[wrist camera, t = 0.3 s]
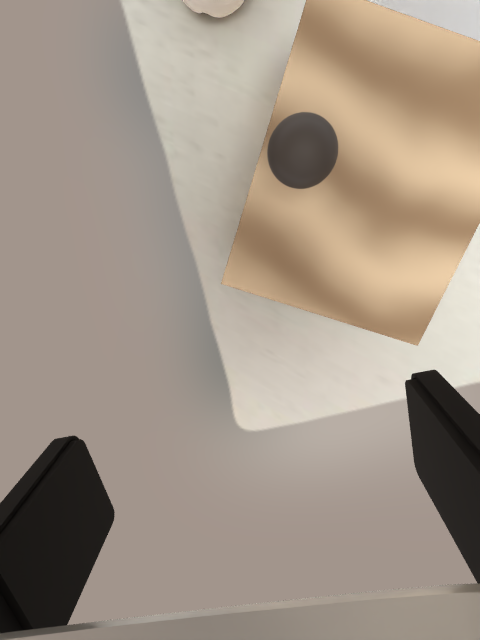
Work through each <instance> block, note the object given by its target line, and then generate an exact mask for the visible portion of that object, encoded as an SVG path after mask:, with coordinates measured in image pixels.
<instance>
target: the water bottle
mask: <svg viewBox="0 0 480 640" xmlns="http://www.w3.org/2000/svg"><path fill="white" fill-rule="evenodd" d="M182 1H183V2H184V3H185V4H186V5H187V6H188V7H189V8H190V9H191V10H193V11H194V12H196V13H200V14H201V12H204V13H207V14H209V15H211V16H213V17H218V18H221V17H225V16H227V15H229V14H231V13H233V12H234V11H235V10H237V9H238V8H239V7H240V6H241V5H242V4H243V2H244V0H182Z"/></svg>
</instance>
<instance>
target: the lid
mask: <svg viewBox="0 0 480 640" xmlns="http://www.w3.org/2000/svg"><path fill="white" fill-rule="evenodd" d="M479 223H480V41H477V40H475V39H472V38H469V37H466V36H464V35H461V34H458V33H455V32H452V31H450V30H447V29H444V28H441V27H439V26H436V25H433V24H430V23H427V22H425V21H422V20H419V19H416V18H414V17H411V16H408V15H405V14H402V13H400V12H397V11H394V10H391V9H389V8H386V7H383V6H380V5H377V4H375V3H372V2H369V1H366V0H306V3H305V7H304V10H303V13H302V16H301V20H300V23H299V26H298V30H297V33H296V36H295V40H294V43H293V46H292V50H291V53H290V56H289V60H288V63H287V66H286V70H285V73H284V76H283V80H282V83H281V86H280V90H279V93H278V96H277V100H276V103H275V106H274V110H273V113H272V116H271V119H270V123H269V126H268V129H267V133H266V136H265V139H264V143H263V146H262V149H261V153H260V156H259V159H258V163H257V166H256V169H255V173H254V176H253V179H252V183H251V186H250V189H249V193H248V196H247V199H246V203H245V206H244V209H243V213H242V216H241V219H240V223H239V226H238V229H237V232H236V236H235V239H234V242H233V246H232V249H231V252H230V256H229V259H228V262H227V266H226V269H225V272H224V276H223V279H222V282H221V284H224V285H227V286H230V287H233V288H236V289H239V290H243V291H246V292H249V293H252V294H255V295H258V296H262V297H265V298H268V299H271V300H274V301H277V302H281V303H284V304H287V305H290V306H293V307H296V308H300V309H303V310H306V311H309V312H312V313H315V314H319V315H322V316H325V317H328V318H331V319H335V320H338V321H341V322H344V323H347V324H350V325H354V326H357V327H360V328H363V329H366V330H369V331H373V332H376V333H379V334H382V335H385V336H388V337H392V338H395V339H398V340H401V341H404V342H407V343H411V344H414V345H417V346H418V344H419V342H420V340H421V338H422V336H423V334H424V332H425V330H426V328H427V326H428V324H429V322H430V320H431V318H432V316H433V314H434V312H435V310H436V308H437V306H438V304H439V302H440V300H441V298H442V296H443V294H444V292H445V290H446V288H447V286H448V284H449V282H450V280H451V278H452V276H453V274H454V273H455V271H456V269H457V267H458V265H459V263H460V261H461V259H462V257H463V255H464V253H465V251H466V249H467V247H468V245H469V243H470V241H471V239H472V237H473V235H474V233H475V231H476V229H477V227H478V225H479Z"/></svg>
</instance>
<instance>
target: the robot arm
mask: <svg viewBox="0 0 480 640" xmlns="http://www.w3.org/2000/svg"><path fill="white" fill-rule="evenodd" d="M405 387H406V396H407V404H408V413H409V421H410V430H411V439H412V447H413V455H414V463H415V467H416V470H417V473H418V476H419V478H420V479H421V481H422V483H423V484H424V487H425V489H426V490H427V492H428V494H429V496H430V498H431V499H432V501H433V503H434V505H435V507H436V508H437V510H438V512H439V514H440V516H441V518H442V519H443V521H444V523H445V524H446V527H447V528H448V530H449V532H450V534H451V535H452V537H453V539H454V541H455V543H456V545H457V546H458V548H459V550H460V552H461V554H462V555H463V557H464V559H465V561H466V563H467V564H468V566H469V568H470V570H471V572H472V574H473V575H474V577H475V579H476V581H477V583H478V584H457V585H456V584H454V585H439V586H428V587H417V588H405V589H394V590H383V591H372V592H361V593H351V594H342V595H333V596H323V597H315V598H305V599H295V600H286V601H277V602H267V603H257V604H249V605H239V606H230V607H221V608H212V609H204V610H195V611H185V612H177V613H168V614H159V615H150V616H142V617H134V618H124V619H115V620H107V621H99V622H91V623H82V624H73V625H67V624H68V622H69V620H70V617H71V615H72V613H73V611H74V608H75V606H76V604H77V601H78V599H79V597H80V595H81V593H82V591H83V588H84V586H85V584H86V582H87V579H88V577H89V575H90V573H91V570H92V568H93V566H94V564H95V561H96V559H97V557H98V555H99V552H100V550H101V548H102V546H103V544H104V541H105V539H106V537H107V535H108V533H109V530H110V528H111V526H112V523H113V521H114V509H113V506H112V504H111V501H110V499H109V497H108V495H107V492H106V490H105V488H104V485H103V483H102V481H101V479H100V477H99V474H98V472H97V470H96V467H95V465H94V463H93V460H92V458H91V456H90V454H89V451H88V449H87V447H86V444H85V443H84V441H83V440H81V439H79V438H78V437H76V436H69V437H63V438H58V439H54V440H53V441H52V442H51V443H50V445H49V446H48V447H47V448H46V450H45V451H44V452H43V453H42V454H41V455H40V457H39V458H38V459H37V460H36V461H35V463H34V464H33V465H32V466H31V468H30V469H29V470H28V471H27V472H26V473H25V474H24V476H23V477H22V478H21V479H20V481H19V482H18V483H17V484H16V485H15V486H14V488H13V489H12V490H11V491H10V492H9V494H8V495H7V496H6V497H5V498H4V500H3V501H2V502H1V503H0V640H480V414H479V413H478V412H476V411H475V409H474V408H473V407H472V406H471V405H470V404H469V403H468V402H467V401H466V400H465V399H464V398H463V397H462V396H461V395H460V394H459V393H458V392H457V391H456V390H455V389H454V388H453V387H452V386H451V385H450V384H449V383H448V382H447V381H446V380H445V379H444V378H443V377H442V376H441V375H440V374H439V373H438V372H437V371H436V370H430V371H424V372H419V373H413V374H412V377H411V380H406V382H405Z"/></svg>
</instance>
